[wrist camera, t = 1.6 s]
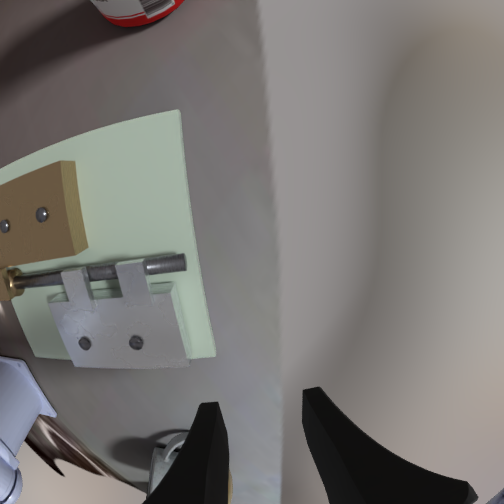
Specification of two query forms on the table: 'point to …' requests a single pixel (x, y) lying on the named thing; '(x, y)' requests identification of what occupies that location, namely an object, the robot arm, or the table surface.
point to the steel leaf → (121, 321)
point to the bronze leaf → (51, 230)
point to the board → (122, 220)
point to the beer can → (135, 10)
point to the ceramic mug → (164, 460)
